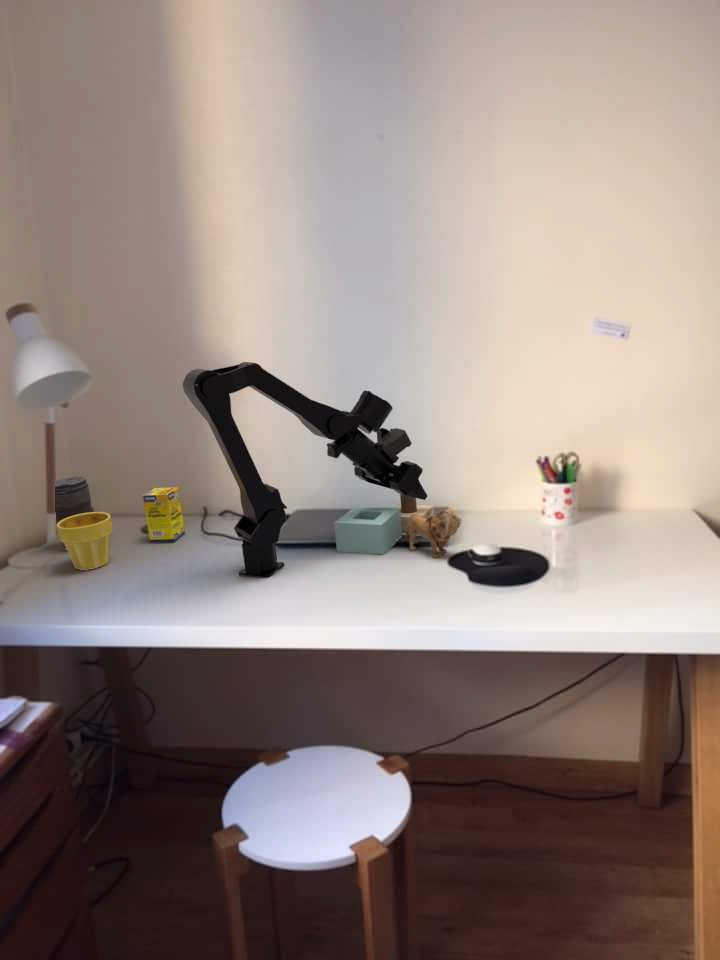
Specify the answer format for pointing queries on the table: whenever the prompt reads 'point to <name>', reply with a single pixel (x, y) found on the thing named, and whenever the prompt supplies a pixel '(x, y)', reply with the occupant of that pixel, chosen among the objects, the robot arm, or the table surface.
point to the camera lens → (71, 498)
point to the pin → (408, 504)
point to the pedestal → (421, 510)
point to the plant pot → (86, 538)
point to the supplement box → (163, 515)
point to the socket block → (368, 530)
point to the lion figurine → (432, 529)
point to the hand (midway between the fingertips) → (413, 493)
